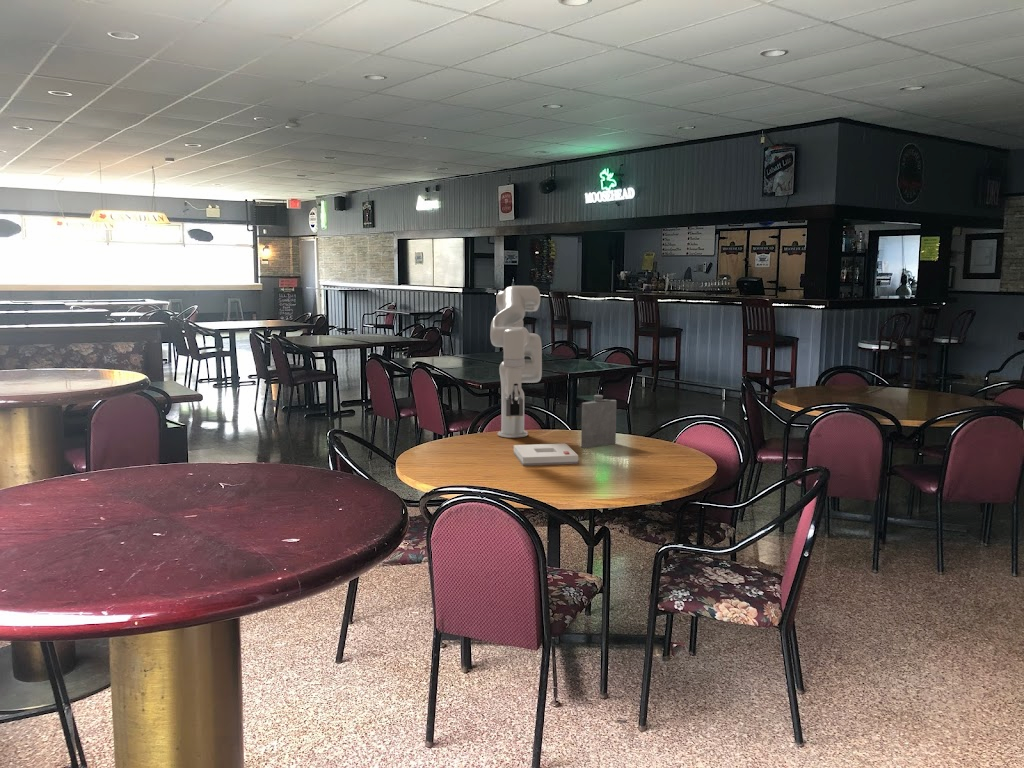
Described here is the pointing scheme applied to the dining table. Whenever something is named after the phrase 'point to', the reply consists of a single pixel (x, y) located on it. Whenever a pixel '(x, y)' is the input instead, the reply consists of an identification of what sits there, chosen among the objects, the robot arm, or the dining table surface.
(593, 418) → the hip flask
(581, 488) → the dining table surface
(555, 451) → the socket
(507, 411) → the plug
